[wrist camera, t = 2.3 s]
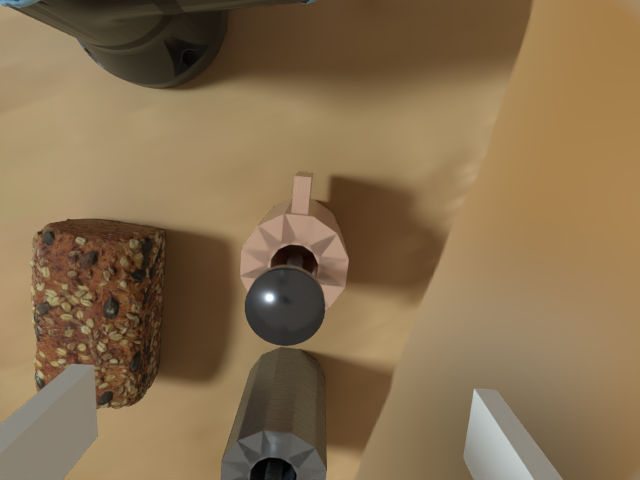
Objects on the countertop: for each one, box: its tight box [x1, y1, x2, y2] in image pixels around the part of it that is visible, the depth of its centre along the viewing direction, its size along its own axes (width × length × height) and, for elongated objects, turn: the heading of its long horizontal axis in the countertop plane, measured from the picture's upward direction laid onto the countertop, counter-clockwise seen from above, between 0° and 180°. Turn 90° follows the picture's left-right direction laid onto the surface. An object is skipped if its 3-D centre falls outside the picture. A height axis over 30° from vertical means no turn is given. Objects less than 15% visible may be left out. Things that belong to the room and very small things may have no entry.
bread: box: [30, 219, 165, 409], centre depth 43 cm, size 19×11×10 cm, turn 171°
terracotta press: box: [240, 171, 349, 310], centre depth 40 cm, size 9×12×12 cm
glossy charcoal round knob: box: [245, 253, 325, 346], centre depth 31 cm, size 5×5×12 cm
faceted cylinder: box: [221, 347, 327, 480], centre depth 43 cm, size 9×12×15 cm
